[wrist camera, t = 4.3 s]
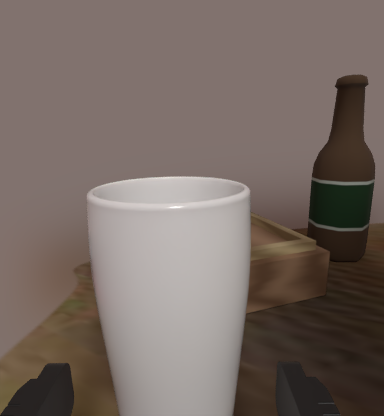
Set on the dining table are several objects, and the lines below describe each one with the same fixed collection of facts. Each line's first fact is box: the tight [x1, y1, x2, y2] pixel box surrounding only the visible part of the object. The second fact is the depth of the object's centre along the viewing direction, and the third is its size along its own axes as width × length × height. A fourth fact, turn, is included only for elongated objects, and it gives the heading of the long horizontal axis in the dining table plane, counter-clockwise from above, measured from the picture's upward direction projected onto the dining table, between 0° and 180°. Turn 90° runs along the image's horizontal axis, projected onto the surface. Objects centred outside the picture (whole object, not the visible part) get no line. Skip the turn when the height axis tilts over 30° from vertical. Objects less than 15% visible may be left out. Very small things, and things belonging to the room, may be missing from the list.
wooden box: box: [246, 212, 330, 314], centre depth 37 cm, size 16×16×6 cm
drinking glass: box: [86, 177, 251, 416], centre depth 14 cm, size 7×7×15 cm
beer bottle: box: [307, 75, 375, 262], centre depth 41 cm, size 8×8×24 cm
